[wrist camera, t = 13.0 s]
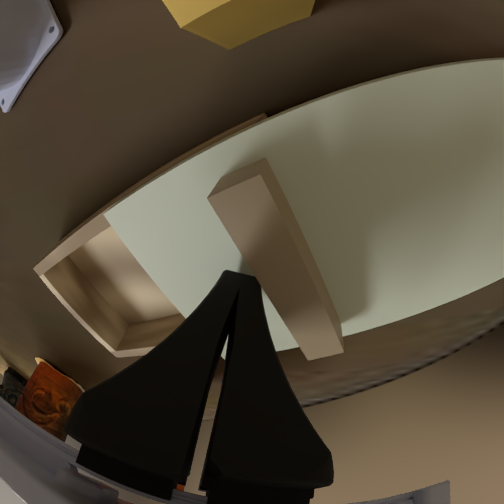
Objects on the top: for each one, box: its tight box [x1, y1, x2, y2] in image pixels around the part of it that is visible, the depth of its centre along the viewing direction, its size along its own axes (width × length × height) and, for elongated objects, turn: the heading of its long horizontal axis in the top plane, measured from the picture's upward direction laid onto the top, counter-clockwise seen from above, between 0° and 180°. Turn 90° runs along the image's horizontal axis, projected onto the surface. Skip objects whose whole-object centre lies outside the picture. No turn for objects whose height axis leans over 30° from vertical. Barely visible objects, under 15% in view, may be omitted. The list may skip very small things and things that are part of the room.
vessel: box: [14, 357, 85, 442], centre depth 32 cm, size 14×14×20 cm
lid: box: [103, 57, 504, 360], centre depth 9 cm, size 10×18×3 cm, turn 117°
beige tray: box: [33, 112, 268, 357], centre depth 14 cm, size 10×25×4 cm, turn 117°
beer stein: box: [0, 368, 28, 408], centre depth 51 cm, size 16×19×25 cm
